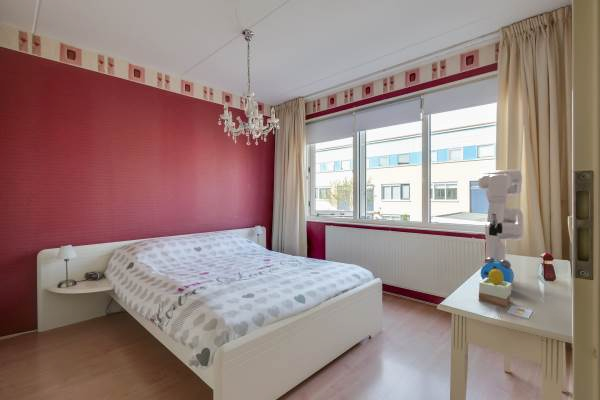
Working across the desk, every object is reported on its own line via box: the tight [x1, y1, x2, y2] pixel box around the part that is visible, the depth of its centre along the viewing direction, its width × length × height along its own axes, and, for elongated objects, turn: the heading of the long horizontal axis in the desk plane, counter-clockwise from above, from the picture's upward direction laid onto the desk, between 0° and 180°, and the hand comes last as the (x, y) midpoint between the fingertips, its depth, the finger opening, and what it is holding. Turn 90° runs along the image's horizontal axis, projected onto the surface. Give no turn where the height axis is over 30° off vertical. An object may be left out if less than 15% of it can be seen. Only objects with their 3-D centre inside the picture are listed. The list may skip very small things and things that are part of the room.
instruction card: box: [506, 305, 534, 320], centre depth 116 cm, size 10×7×1 cm
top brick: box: [478, 278, 513, 299], centre depth 126 cm, size 10×10×4 cm
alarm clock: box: [480, 257, 515, 283], centre depth 143 cm, size 13×6×15 cm, turn 38°
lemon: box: [489, 269, 504, 286], centre depth 126 cm, size 6×6×8 cm
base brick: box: [478, 291, 512, 309], centre depth 126 cm, size 10×10×4 cm
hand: (495, 234), depth 138 cm, fingers open, 9 cm apart
